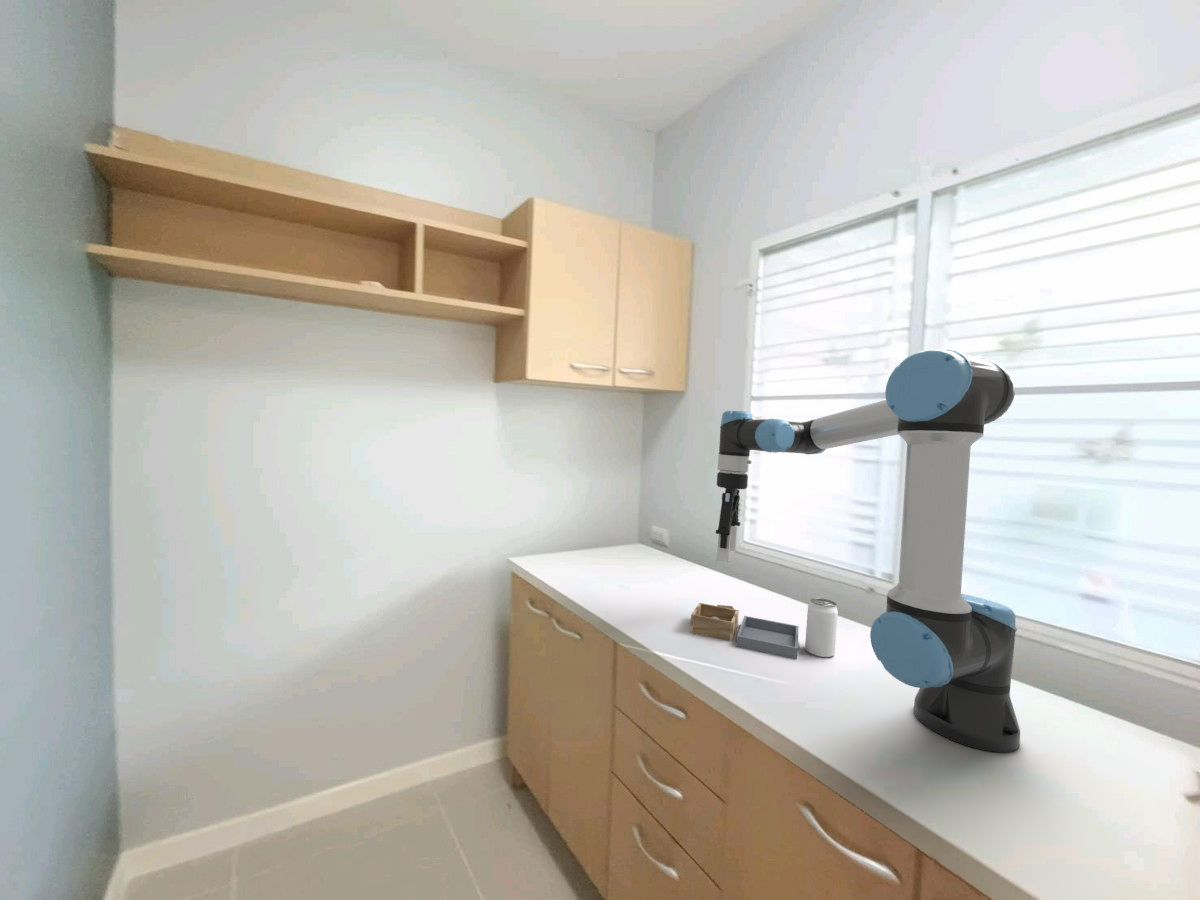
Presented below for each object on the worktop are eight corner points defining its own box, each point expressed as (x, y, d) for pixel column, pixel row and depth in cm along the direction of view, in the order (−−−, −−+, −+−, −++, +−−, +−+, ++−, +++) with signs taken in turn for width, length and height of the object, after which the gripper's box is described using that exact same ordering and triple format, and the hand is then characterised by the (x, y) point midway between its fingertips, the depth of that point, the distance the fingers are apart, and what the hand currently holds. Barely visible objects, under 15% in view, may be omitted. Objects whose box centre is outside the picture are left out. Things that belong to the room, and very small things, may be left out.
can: (839, 659, 112) (843, 607, 112) (811, 657, 112) (815, 605, 112) (827, 647, 119) (830, 598, 118) (800, 645, 119) (804, 596, 119)
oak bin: (731, 643, 117) (733, 622, 117) (689, 634, 121) (691, 614, 121) (737, 629, 127) (738, 610, 127) (698, 621, 131) (699, 602, 131)
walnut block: (734, 626, 129) (735, 611, 129) (719, 624, 130) (720, 609, 129) (731, 620, 133) (732, 605, 133) (716, 619, 134) (717, 604, 133)
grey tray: (796, 661, 110) (797, 648, 110) (736, 648, 115) (737, 636, 115) (797, 637, 124) (798, 626, 124) (743, 627, 129) (744, 615, 129)
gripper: (742, 476, 111) (735, 569, 112) (752, 471, 134) (746, 548, 135) (709, 473, 114) (702, 563, 115) (724, 468, 137) (719, 544, 138)
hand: (726, 555), depth 125 cm, fingers open, 13 cm apart
